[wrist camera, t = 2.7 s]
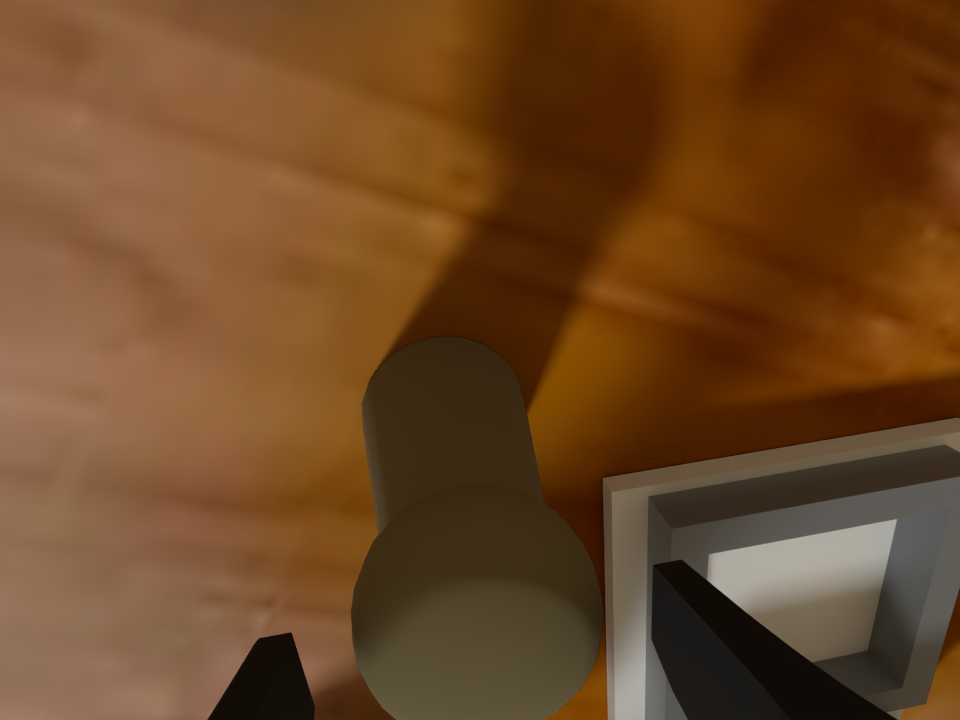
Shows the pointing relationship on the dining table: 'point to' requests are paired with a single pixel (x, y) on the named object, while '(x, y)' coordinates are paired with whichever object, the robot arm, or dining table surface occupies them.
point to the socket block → (797, 558)
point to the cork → (466, 548)
